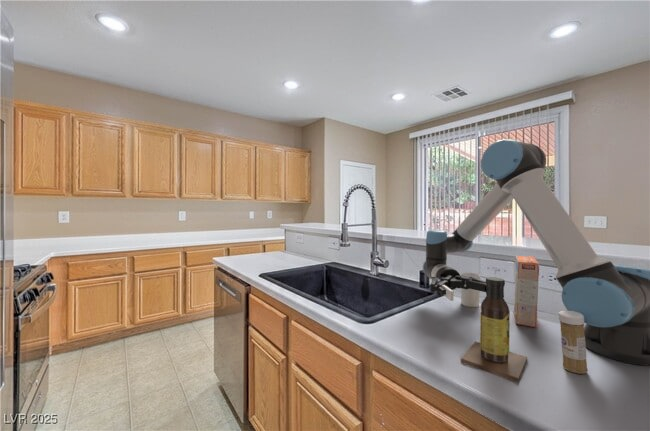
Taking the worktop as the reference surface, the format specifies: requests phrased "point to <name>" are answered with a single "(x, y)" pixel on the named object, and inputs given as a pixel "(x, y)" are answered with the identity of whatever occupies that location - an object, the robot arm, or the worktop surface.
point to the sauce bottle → (495, 322)
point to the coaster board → (496, 363)
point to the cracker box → (526, 291)
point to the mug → (470, 292)
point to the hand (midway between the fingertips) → (476, 296)
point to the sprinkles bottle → (573, 341)
